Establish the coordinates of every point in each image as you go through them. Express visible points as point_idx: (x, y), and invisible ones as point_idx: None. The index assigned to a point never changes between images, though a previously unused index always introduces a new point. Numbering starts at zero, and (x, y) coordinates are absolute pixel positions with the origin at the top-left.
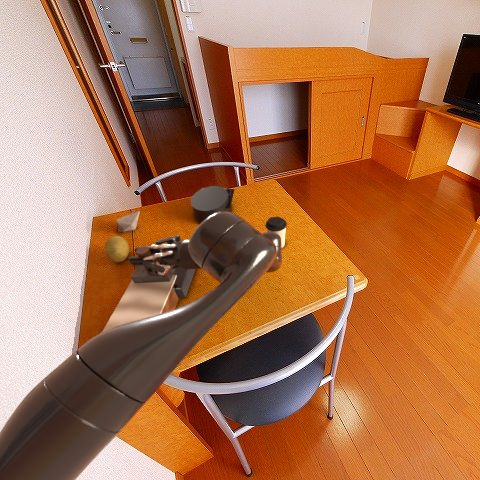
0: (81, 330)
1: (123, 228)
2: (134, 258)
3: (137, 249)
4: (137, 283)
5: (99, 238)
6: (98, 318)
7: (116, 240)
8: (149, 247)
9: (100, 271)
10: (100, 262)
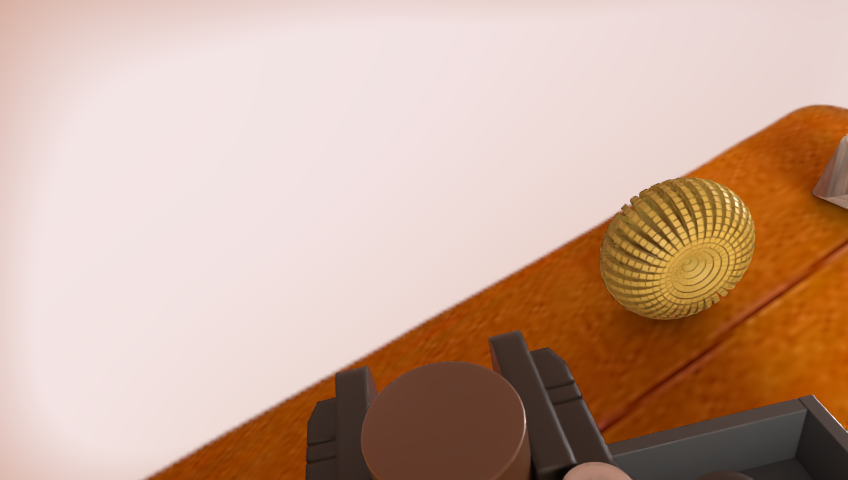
0: (222, 436)
1: (835, 186)
2: (338, 421)
3: (442, 366)
4: None
5: (724, 174)
6: (279, 458)
7: (691, 204)
8: (567, 462)
9: (554, 287)
10: None
